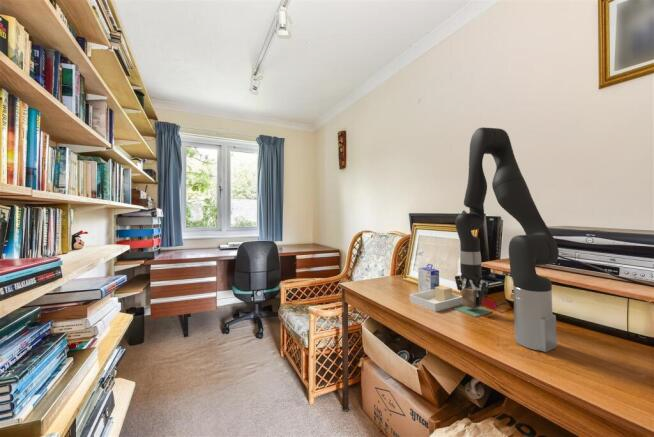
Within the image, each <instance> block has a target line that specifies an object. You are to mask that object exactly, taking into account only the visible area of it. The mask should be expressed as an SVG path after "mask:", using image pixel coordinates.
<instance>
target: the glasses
mask: <svg viewBox="0 0 654 437" xmlns="http://www.w3.org/2000/svg"><path fill="white" fill-rule="evenodd" d="M507 303H509V302H508V301H505V302H502V303H499V304H497V302H496V301H495V300H494V299H492V298H490V297H487V296H483V297H482V305H484V306H485V307H487V309H489V310H491V311H492V310H493V311H496V310H497V307H499V306H502V305H505V304H507Z"/></svg>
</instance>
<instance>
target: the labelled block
mask: <svg viewBox="0 0 654 437" xmlns="http://www.w3.org/2000/svg"><path fill="white" fill-rule="evenodd" d="M478 293H479V291H478ZM461 296H462V305H461V306H463V305H464V306H467V307H470V308H473V309H475V308H478V307H481V308H483V303H482V304H481V305H480V306H476V295H475V291H473V289H472V288H471V287H469V288H465V289H464V288H463V289H462V292H461Z"/></svg>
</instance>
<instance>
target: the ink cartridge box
mask: <svg viewBox="0 0 654 437" xmlns="http://www.w3.org/2000/svg"><path fill="white" fill-rule="evenodd" d="M433 266H434V265H433V264H431V263H427V265H426V266H423V267H419V268H418V269H417V272H418V274H417V275H418V278H417V280H418V281H417V282H418V283H417V284H418V292H423V291H428V290H432V289H435V287H438V286H440V270H438V269H434V268H433Z"/></svg>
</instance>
